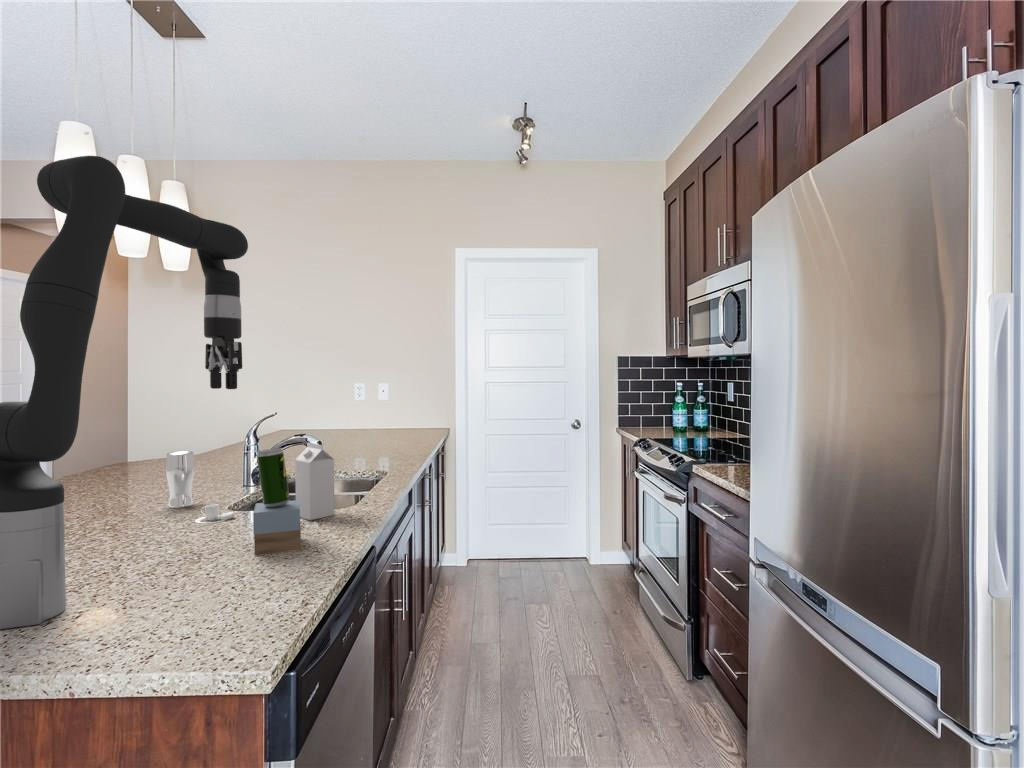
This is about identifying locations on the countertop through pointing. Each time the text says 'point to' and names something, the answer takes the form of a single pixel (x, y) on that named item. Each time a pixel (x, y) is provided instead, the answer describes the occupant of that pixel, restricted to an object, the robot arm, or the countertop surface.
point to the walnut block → (277, 542)
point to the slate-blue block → (276, 518)
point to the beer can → (273, 477)
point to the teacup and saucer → (214, 514)
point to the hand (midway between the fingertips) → (223, 388)
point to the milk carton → (315, 482)
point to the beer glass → (180, 478)
